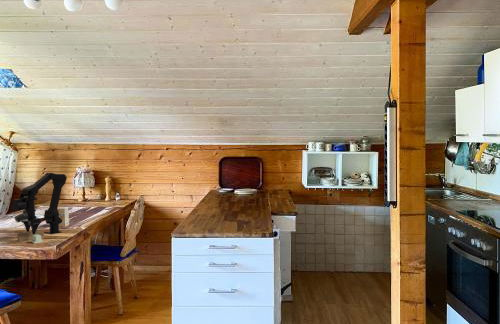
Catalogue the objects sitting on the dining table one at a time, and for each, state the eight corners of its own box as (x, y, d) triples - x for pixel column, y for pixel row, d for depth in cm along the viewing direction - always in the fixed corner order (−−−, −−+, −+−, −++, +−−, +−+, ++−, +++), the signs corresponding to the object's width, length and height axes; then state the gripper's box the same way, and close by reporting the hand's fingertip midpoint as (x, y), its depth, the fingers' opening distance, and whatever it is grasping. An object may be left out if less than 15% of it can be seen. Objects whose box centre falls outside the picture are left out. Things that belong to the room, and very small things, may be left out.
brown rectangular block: (17, 241, 248) (17, 233, 248) (42, 237, 258) (41, 229, 257) (19, 242, 245) (18, 234, 245) (44, 238, 255) (43, 230, 255)
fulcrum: (31, 242, 245) (30, 235, 245) (39, 240, 249) (39, 234, 249) (34, 243, 242) (34, 236, 241) (43, 241, 245) (42, 235, 245)
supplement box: (54, 226, 286) (53, 208, 285) (58, 225, 291) (58, 207, 290) (65, 227, 285) (64, 208, 284) (69, 225, 290) (68, 207, 289)
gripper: (9, 208, 250) (11, 233, 252) (21, 212, 238) (22, 238, 239) (29, 205, 259) (30, 230, 260) (41, 209, 246) (42, 234, 248)
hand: (30, 233), depth 251 cm, fingers open, 9 cm apart
